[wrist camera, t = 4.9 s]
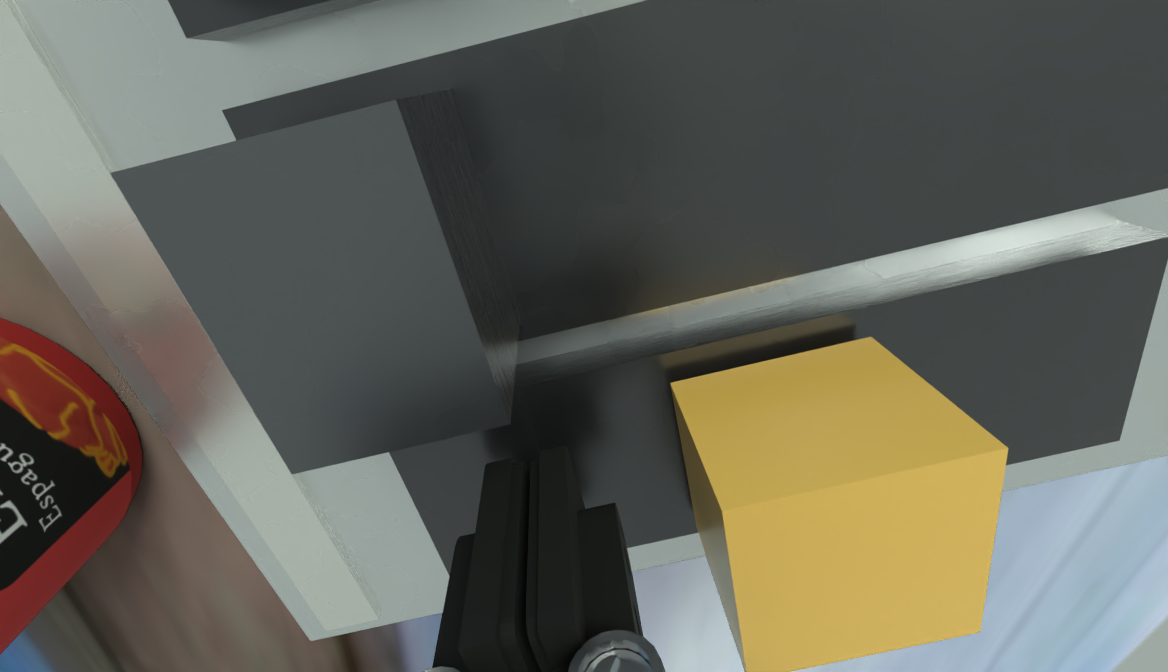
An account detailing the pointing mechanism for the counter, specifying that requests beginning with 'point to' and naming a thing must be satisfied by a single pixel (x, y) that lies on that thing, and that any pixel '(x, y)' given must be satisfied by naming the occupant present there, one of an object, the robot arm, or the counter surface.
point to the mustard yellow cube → (839, 504)
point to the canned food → (55, 471)
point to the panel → (580, 240)
